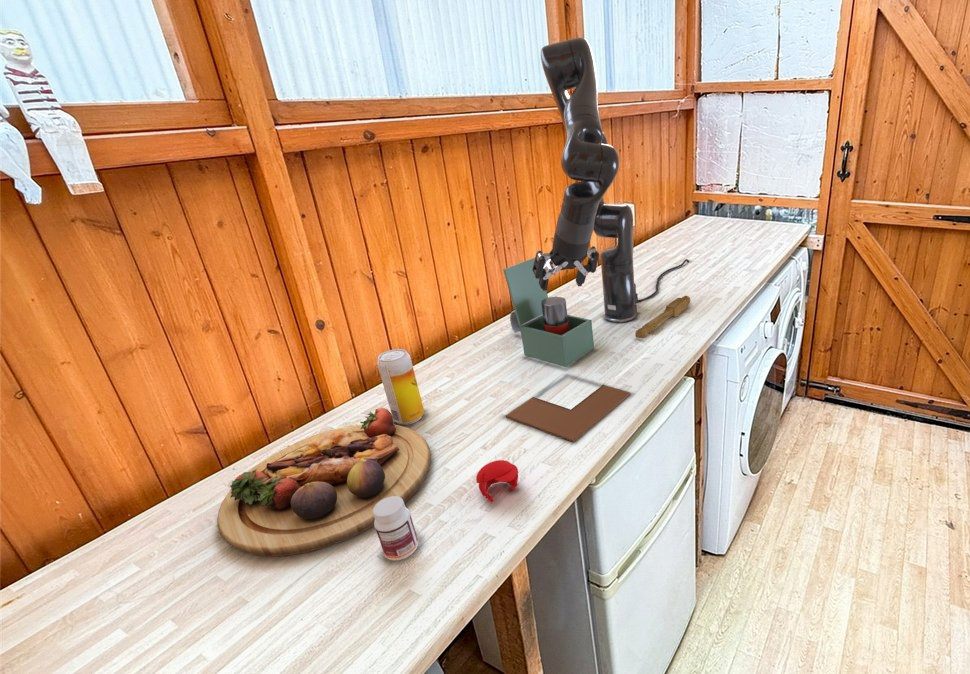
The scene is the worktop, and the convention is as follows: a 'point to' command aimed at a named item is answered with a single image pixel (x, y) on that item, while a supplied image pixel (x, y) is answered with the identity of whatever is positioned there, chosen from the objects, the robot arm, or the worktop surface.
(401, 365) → the beer can
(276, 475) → the wooden plate
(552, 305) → the tin
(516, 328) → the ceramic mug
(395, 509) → the pill bottle
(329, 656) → the worktop surface
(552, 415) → the mat
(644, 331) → the tap handle
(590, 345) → the bin
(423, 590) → the worktop surface
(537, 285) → the bin lid
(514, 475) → the cap
